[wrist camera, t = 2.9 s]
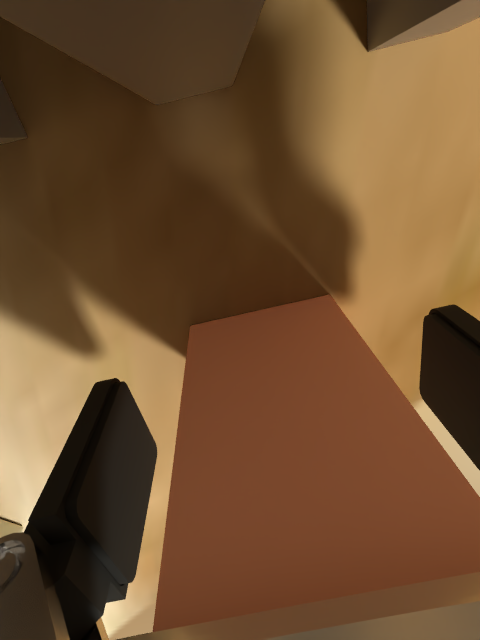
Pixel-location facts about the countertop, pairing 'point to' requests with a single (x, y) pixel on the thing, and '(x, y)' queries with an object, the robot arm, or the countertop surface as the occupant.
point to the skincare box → (9, 528)
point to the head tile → (302, 473)
